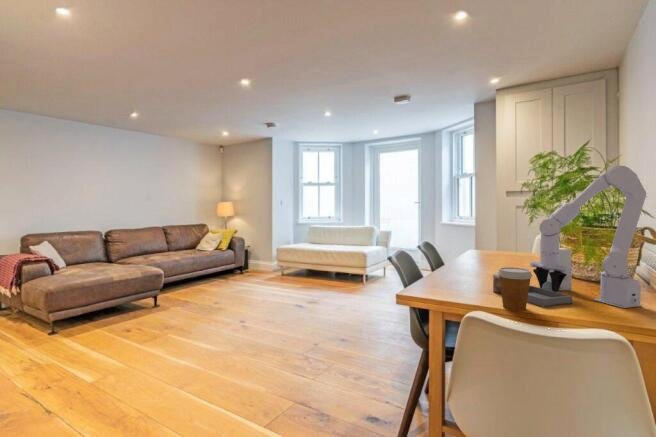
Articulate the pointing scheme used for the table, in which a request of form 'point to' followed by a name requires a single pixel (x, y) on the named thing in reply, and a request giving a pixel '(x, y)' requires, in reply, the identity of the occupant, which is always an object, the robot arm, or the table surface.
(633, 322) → the table surface
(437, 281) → the table surface
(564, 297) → the tray
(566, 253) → the skincare box
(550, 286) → the ball
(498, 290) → the shaker
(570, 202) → the robot arm
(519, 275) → the disposable coffee cup
